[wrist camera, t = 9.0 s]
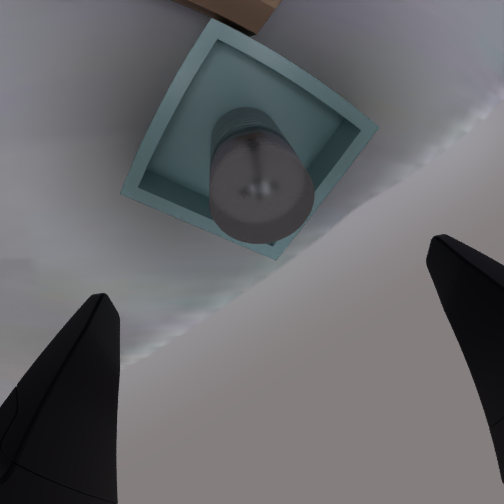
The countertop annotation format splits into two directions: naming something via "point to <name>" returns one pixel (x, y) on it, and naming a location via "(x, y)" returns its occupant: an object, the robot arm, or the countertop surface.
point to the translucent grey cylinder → (256, 179)
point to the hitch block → (236, 12)
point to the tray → (231, 97)
